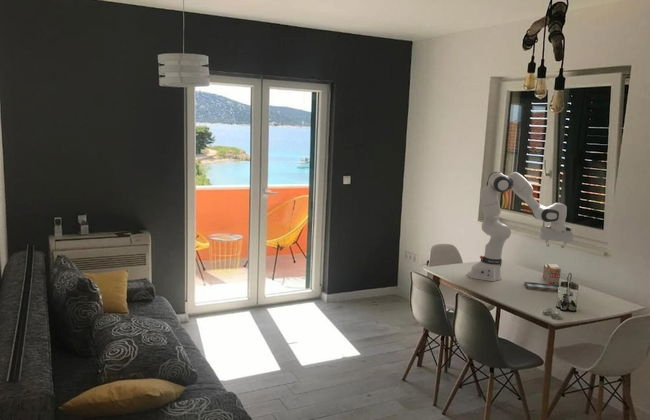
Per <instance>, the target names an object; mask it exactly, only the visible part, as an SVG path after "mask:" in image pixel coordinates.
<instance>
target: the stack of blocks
mask: <svg viewBox="0 0 650 420" xmlns="http://www.w3.org/2000/svg"><path fill="white" fill-rule="evenodd" d="M561 272H562V269H561V268H560V266H559V265H558V264H554V263H546V264H544V265H543V274H542V278H543V277H544V278H543V279H545V282H546V284H553V285H560V278H561Z"/></svg>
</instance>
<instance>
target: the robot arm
mask: <svg viewBox="0 0 650 420" xmlns="http://www.w3.org/2000/svg"><path fill="white" fill-rule="evenodd" d="M509 190H511V191H512V192H513V193H514V194H515V195H516V196H518V198H520V199H521V200H522V201H523V202H524V203H526V205H527V206H528V207H529V209H530V211H531V214H532V216H533V217H534V219H536V220H539V221H541V222H545V223H550V225H543V226H541V228H540V236H539V238H540V239H541V240H543V241H545V243H546V247H549V248H550V243H548V242H549V241H554V242H563V244H561V245H560V248H561V249H564V248H565V246H566V244H567V243H572V242H573V240H574V234H573V232H572V231H573V228H572V227H571V226H568V225H566V218H567V214H568V213H567V211H568V207H567V205H566V204H564V203H561V202H554V203H553V204H551V205H549V206H545V205H543V204H541V203H539V202H538V201H537V200H536V198H535V197H534V195H533V194H534V188H533V186H532V184H531V182H529V181H528V180H527V178H525V177H524V176H523V175H522V174H520V173H519V172H516V171H514V172H512V173H509V174H508V175H505V174H503V172H500V171H493V172H492V173H490V174H489V175H488V179H487V182H486V186H484V187H482V188H481V189H480V202H481V207H482V211H483V212H482V213H483V222H482V224H481V230H482V231H483V233H484V234H485V235H487V236H489V237H490V238H489V241H488V242H487V243H486V245H485V247H484V255H480V256H479V259H480V261H479V262H476V263H475V264H473V265H472V267H471V270H470V271H467V277H468V278H470V279H475V280H483V281H488V282H489V281H490V282H495V281H496V282H497V281H501V280H502V274H501V273H502V272H501V269H502V263H503V259H502V257H503V256H502V255H503V249H504V245H505V243H506V241H507V240H508V239H509V238H510V237H511V233H512V230H511V228H510V227H509V225H507V224H505V223H503V222H501V221H500V215H501V213H502V210H501V205H500V201H499V193H505V192H507V191H509Z"/></svg>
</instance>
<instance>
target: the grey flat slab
mask: <svg viewBox="0 0 650 420" xmlns="http://www.w3.org/2000/svg"><path fill="white" fill-rule="evenodd" d="M523 284H524V285H523V286H524V287H525V288H526V289H527V290H532V291H533V290H534V291H544V292H553V293H558V292H557V291H558V287H559V285H560V284H559V285H553V284H547V283H542V282H533V281H531V282H530V281H524V283H523Z"/></svg>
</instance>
